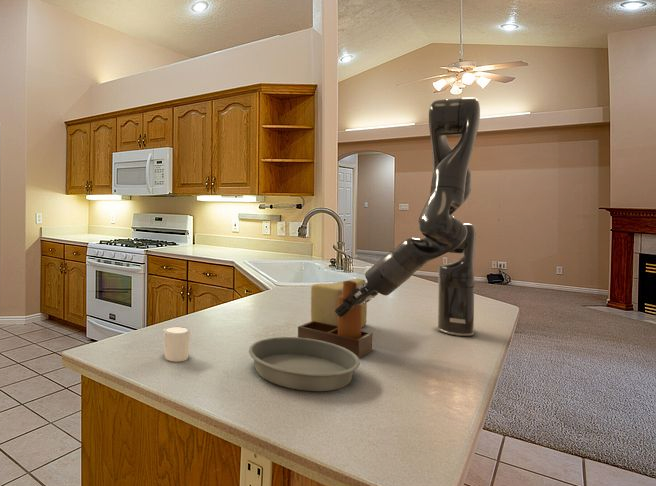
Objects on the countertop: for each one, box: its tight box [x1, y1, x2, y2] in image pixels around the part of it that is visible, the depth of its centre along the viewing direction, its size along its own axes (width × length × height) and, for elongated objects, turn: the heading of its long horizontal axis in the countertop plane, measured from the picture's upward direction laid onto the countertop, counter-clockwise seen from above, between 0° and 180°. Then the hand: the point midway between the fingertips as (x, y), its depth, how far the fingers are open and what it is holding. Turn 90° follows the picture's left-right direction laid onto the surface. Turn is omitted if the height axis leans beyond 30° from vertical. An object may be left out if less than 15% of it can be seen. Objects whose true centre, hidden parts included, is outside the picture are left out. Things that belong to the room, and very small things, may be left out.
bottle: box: [338, 280, 362, 339], centre depth 119 cm, size 6×6×16 cm
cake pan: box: [248, 336, 361, 392], centre depth 103 cm, size 25×25×4 cm
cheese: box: [310, 278, 368, 328], centre depth 137 cm, size 22×10×15 cm, turn 128°
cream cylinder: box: [162, 325, 191, 363], centre depth 112 cm, size 7×7×7 cm
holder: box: [297, 321, 373, 359], centre depth 122 cm, size 9×17×5 cm, turn 46°
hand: (343, 311), depth 120 cm, fingers closed on bottle, 6 cm apart
